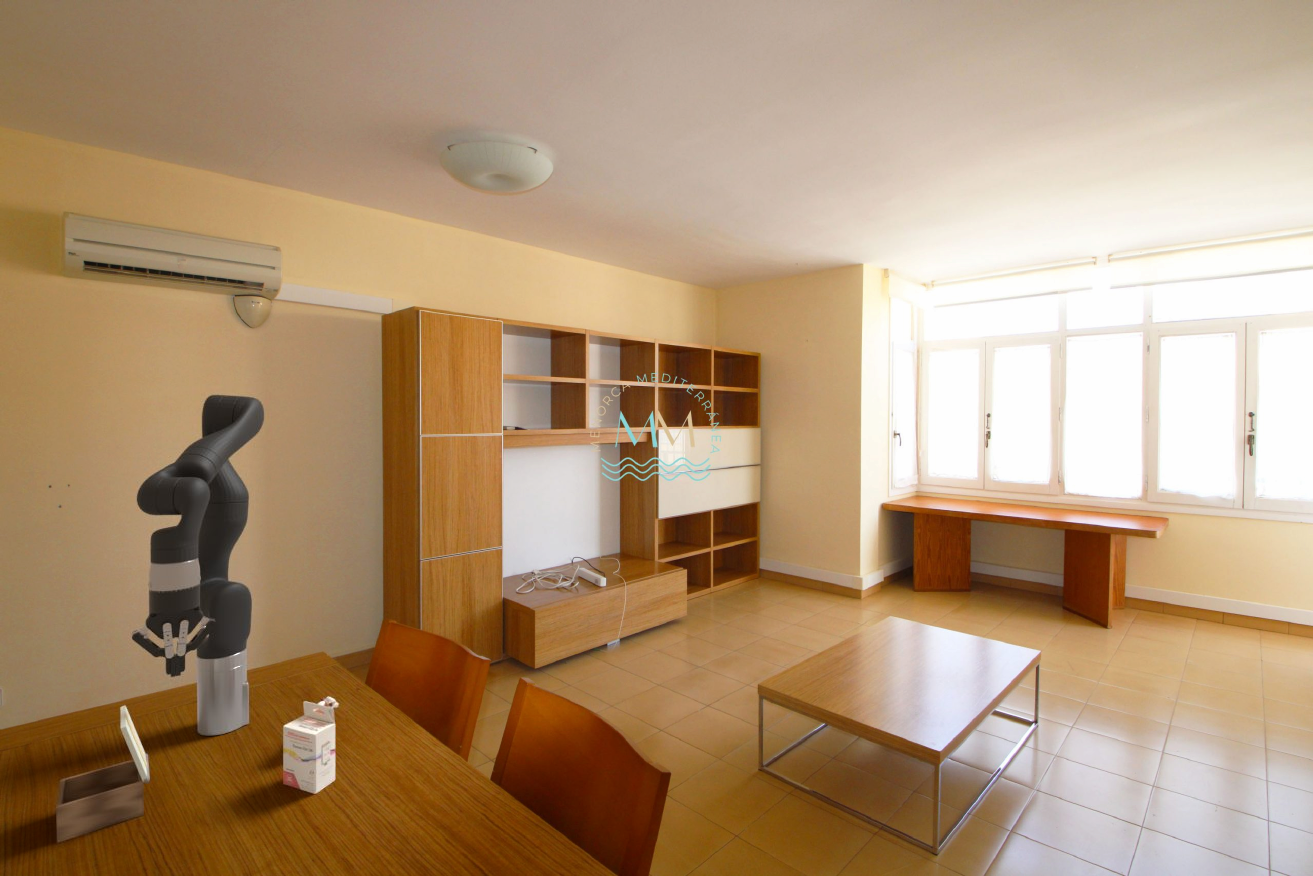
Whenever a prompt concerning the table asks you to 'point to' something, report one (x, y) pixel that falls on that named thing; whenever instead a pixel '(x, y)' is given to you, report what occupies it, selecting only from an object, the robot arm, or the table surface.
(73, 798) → the box
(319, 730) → the ink cartridge box
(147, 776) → the lid
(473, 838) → the table surface
